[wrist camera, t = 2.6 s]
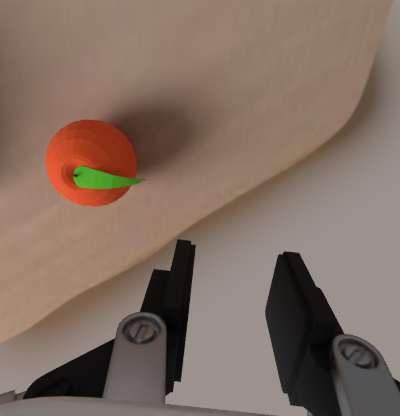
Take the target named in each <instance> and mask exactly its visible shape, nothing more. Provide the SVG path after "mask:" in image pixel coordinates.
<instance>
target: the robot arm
mask: <svg viewBox="0 0 400 416" xmlns="http://www.w3.org/2000/svg"><path fill="white" fill-rule="evenodd" d="M195 247H196V245H191V241H187V240H179V239H178V240H177V244H176V248H175V253H174V257H173V262H172V266H171V271H167V270H166V271H165V270H157V269H154V270H153V273H152V276H151V279H150V282H149V285H148V288H147V291H146V294H145V298H144V301H143V304H142V307H141V310H140V312H137V313H133V314H130V315H128V316H127V317H126V318H124V319H123V320H122V321H121V322H120V323H119V326H118V328H117V332H116V337H115V339H113V340H111V341H109V342H107V343H105V344H103V345H101V346H99V347H97V348H95V349H93V350H91V351H89V352H87V353H85V354H83V355H81V356H80V357H78V358H76V359H74V360H72V361H70V362H68V363H66V364H64V365H62V366H60V367H58V368H56V369H54V370H52V371H50V372H48V373H47V374H45V375H43V376H41V377H40V378H38V379H37V380H36V381H35V382H33V383H32V384H31V386H30V387H29V388H28V389H27V391H25V392H22V393H19V394H15V390H13V391H10V392H7V393H3V394H0V416H274V415H265V414H256V413H246V412H237V411H228V410H218V409H209V408H199V407H189V406H180V405H170V404H165V396H166V395H167V394H169V393H170V392H173V387H174V381H178V382H181V375H182V366H183V357H184V348H185V340H186V331H187V322H188V313H189V303H190V294H191V284H192V276H193V266H194V257H195ZM265 315H266V321H267V325H268V329H269V333H270V338H271V343H272V347H273V352H274V356H275V361H276V365H277V369H278V374H279V378H280V382H281V387H282V390H283V393H287V394H288V397H289V401H290V405H293V406H302V407H304V408H305V409H307V410H308V412H307V416H400V382H399V381H397V380H395V379H394V378H393V377H392V375H391V373H390V371H389V369H388V367H387V364H386V362H385V361H384V358H383V357H382V355H381V353H380V352H379V351H378V350H377V349H376V348H375V347H374V346H373V345H371V344H370V343H369V342H367V341H366V340H364V339H362V338H359V337H357V336H353V335H347V334H344V333H343V330H342V328H341V327H340V325H339V323H338V321H337V319H336V318H335V315H334V313H333V311H332V309H331V308H330V306H329V304H328V302H327V300H326V298H325V296H324V294H323V292H322V290H321V289H320V288H318V287H316V286H315V283H314V282H313V279H312V278H311V275H310V274H309V272H308V270H307V268H306V266H305V264H304V262H303V260H302V258H301V256H300V254H299V253H295V252H286V251H285V252H284V253H283V255H281V254H279V255H278V258H277V262H276V266H275V271H274V275H273V279H272V283H271V288H270V292H269V296H268V300H267V305H266V310H265Z"/></svg>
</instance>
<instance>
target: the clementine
mask: <svg viewBox="0 0 400 416" xmlns="http://www.w3.org/2000/svg"><path fill="white" fill-rule="evenodd" d="M46 168H47V173H48V176H49V178H50V181H51V182H52V184H53V185H54V187H55V188H56V190H57V191H58V192H60V193H61V194H62V195H63V196H64V197H65V198H67V199H69V200H70V201H72V202H74V203H77V204H80V205H84V206H102V205H108V204H110V203H112V202H114V201H116V200H118V199H119V198H121V197H122V196H123V195H124V194H125V193H126V192H127V191H128V190H129V188H130V187H131V185H134V184H137V183H139V182H141V181H143V180H145V179H134V178H135V174H136V170H137V158H136V155H135V151H134V148H133V146H132V145H131V143H130V141H129V139H128V138H127V137H126V136H125V135H124V134H123V133H122V132H121V131H120V130H119V129H117V128H116V127H114V126H112V125H111V124H108V123H105V122H102V121H97V120H81V121H76V122H73V123H71V124H69V125H67V126H66V127H64V128H62V129H61V130H60V131H59V132H58V133H57V134H56V135H55V136H54V137H53V138H52V140H51V142H50V145H49V147H48V150H47V155H46Z"/></svg>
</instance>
